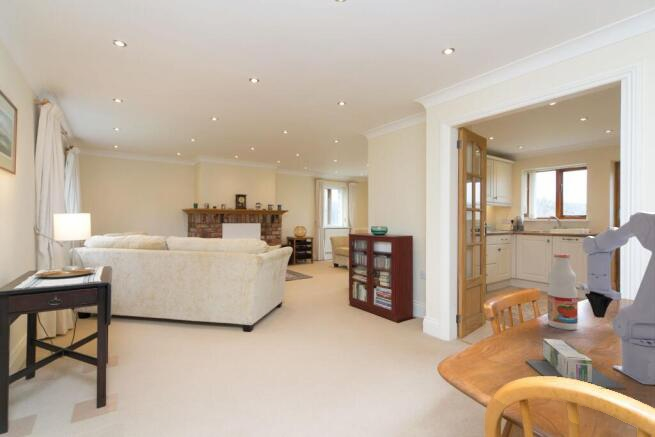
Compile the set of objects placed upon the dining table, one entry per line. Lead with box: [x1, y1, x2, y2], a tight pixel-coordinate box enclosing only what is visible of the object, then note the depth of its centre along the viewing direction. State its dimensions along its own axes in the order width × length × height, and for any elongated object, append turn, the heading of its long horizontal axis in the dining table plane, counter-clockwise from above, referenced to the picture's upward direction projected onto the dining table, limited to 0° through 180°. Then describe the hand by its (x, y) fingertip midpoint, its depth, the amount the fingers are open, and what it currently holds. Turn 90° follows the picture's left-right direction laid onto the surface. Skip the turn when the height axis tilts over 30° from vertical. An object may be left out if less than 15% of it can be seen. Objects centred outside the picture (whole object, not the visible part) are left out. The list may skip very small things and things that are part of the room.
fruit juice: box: [547, 253, 579, 331], centre depth 124 cm, size 9×9×28 cm
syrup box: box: [542, 338, 593, 382], centre depth 87 cm, size 6×6×14 cm
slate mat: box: [525, 359, 626, 390], centre depth 85 cm, size 14×16×1 cm
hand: (599, 317), depth 101 cm, fingers closed
